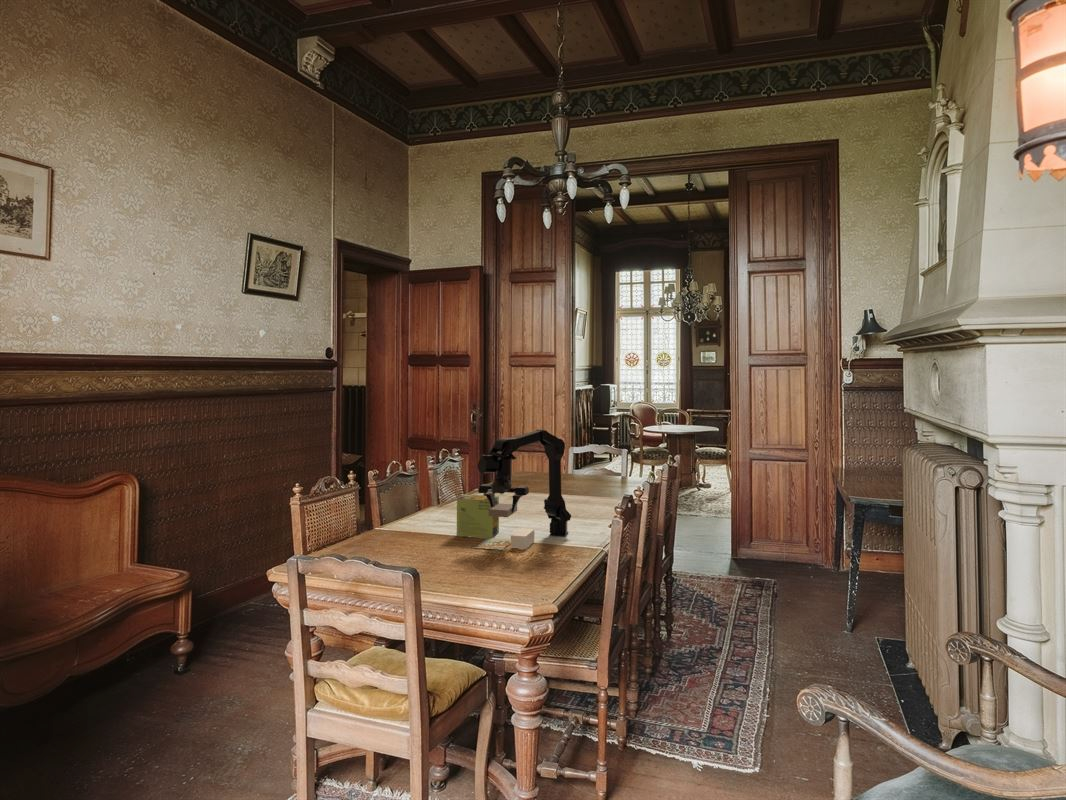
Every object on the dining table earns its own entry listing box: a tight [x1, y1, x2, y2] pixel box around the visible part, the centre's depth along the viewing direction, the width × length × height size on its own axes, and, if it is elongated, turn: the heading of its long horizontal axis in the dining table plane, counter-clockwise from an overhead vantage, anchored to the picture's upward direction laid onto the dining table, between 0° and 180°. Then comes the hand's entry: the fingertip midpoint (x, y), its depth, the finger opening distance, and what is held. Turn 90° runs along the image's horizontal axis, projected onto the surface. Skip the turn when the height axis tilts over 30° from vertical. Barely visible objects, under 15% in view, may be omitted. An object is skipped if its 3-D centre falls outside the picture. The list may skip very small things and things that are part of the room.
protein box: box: [456, 494, 500, 539], centre depth 274 cm, size 10×15×16 cm
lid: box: [489, 502, 518, 518], centre depth 256 cm, size 7×13×2 cm, turn 166°
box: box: [510, 527, 535, 550], centre depth 256 cm, size 6×12×5 cm, turn 165°
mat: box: [474, 537, 511, 551], centre depth 257 cm, size 11×16×1 cm
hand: (503, 512), depth 256 cm, fingers closed on lid, 7 cm apart
